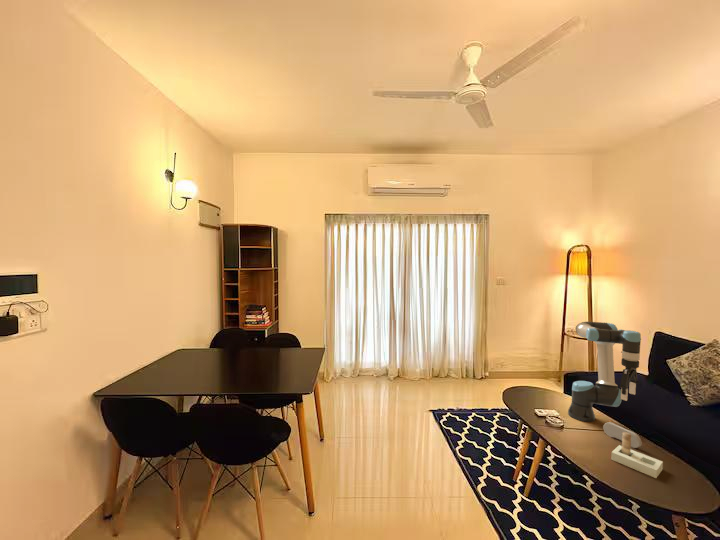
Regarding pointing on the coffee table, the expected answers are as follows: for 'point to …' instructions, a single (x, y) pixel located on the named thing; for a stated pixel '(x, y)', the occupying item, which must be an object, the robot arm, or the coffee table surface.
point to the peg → (626, 443)
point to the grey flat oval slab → (617, 432)
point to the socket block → (638, 462)
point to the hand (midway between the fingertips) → (628, 396)
